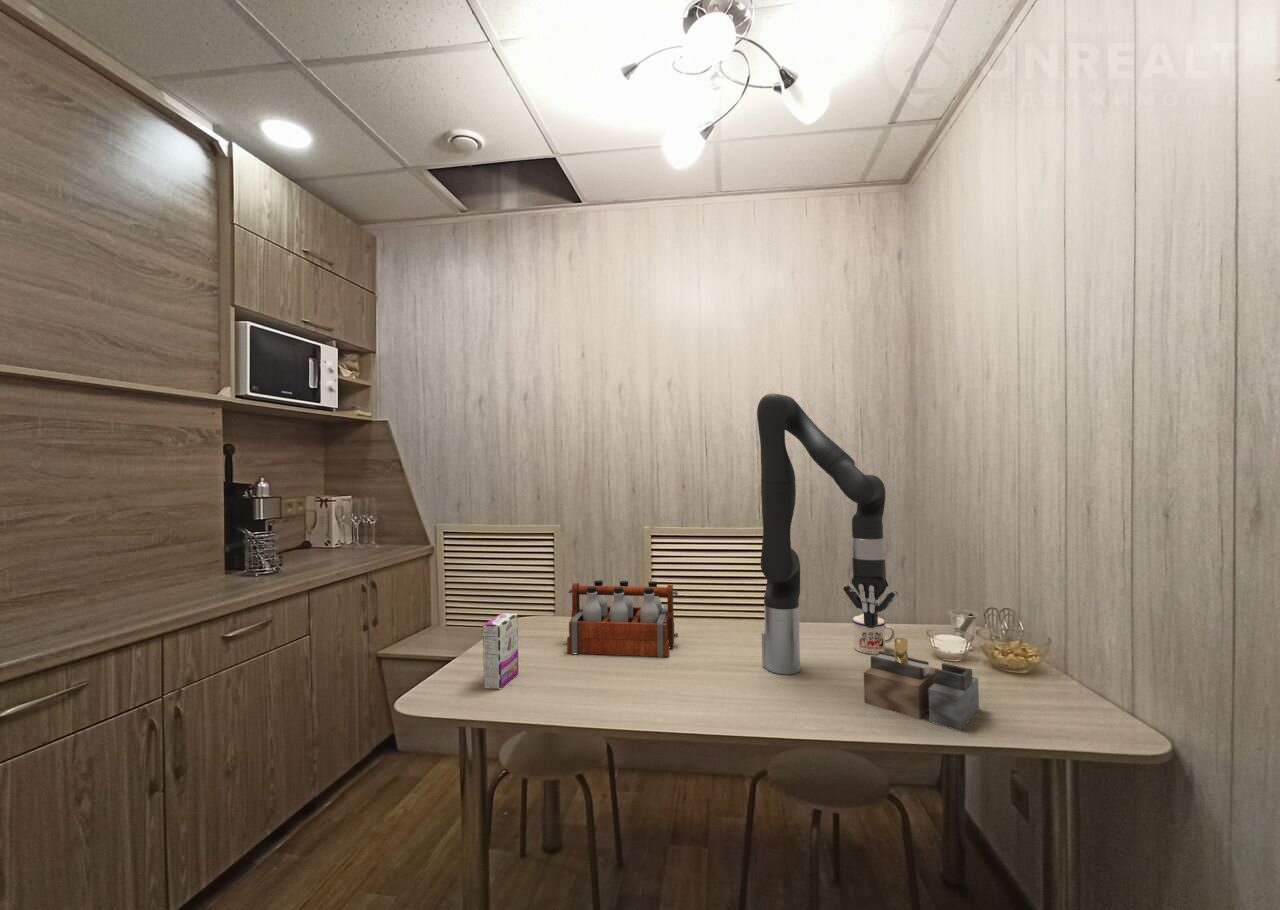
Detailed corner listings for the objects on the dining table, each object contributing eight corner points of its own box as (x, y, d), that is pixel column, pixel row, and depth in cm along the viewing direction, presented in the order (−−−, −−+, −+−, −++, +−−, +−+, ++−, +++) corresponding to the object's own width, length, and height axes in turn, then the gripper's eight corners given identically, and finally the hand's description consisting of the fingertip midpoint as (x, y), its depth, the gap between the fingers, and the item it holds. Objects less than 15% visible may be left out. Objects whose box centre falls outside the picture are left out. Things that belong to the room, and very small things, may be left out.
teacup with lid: (857, 654, 158) (856, 614, 159) (849, 644, 167) (848, 606, 168) (900, 655, 157) (899, 615, 157) (890, 645, 166) (889, 607, 166)
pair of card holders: (864, 702, 126) (863, 659, 126) (887, 685, 136) (886, 645, 136) (960, 731, 112) (959, 682, 112) (979, 709, 122) (977, 664, 122)
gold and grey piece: (875, 665, 130) (874, 635, 130) (880, 662, 132) (879, 633, 132) (924, 677, 122) (923, 646, 122) (929, 673, 124) (928, 642, 124)
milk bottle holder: (577, 633, 183) (577, 576, 184) (681, 637, 178) (680, 578, 179) (559, 655, 162) (559, 590, 163) (675, 659, 157) (674, 592, 158)
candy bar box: (502, 672, 148) (501, 612, 149) (519, 673, 147) (518, 613, 148) (482, 689, 137) (481, 623, 138) (500, 690, 136) (500, 624, 137)
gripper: (835, 555, 135) (838, 625, 134) (890, 560, 125) (893, 636, 125) (848, 552, 140) (851, 619, 140) (902, 556, 131) (905, 628, 130)
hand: (871, 627), depth 132 cm, fingers closed
